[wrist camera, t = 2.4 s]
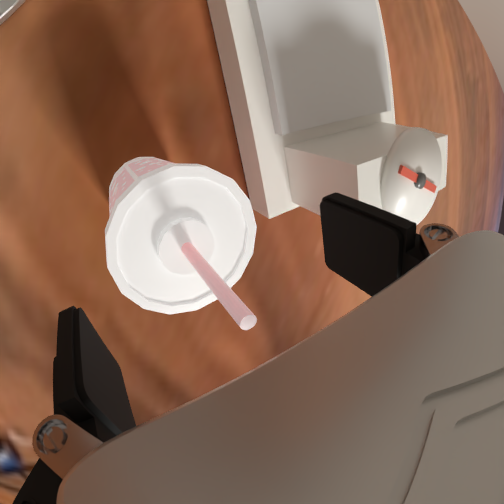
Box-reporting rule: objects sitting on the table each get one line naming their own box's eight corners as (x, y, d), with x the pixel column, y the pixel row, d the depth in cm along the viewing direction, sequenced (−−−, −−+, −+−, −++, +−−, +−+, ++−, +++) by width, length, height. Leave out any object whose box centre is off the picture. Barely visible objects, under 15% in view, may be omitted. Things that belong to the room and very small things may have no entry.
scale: (200, -29, 14) (284, -98, 6) (351, -20, 18) (444, -36, 11) (253, 216, 23) (343, 274, 16) (376, 167, 28) (463, 197, 20)
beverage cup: (131, 255, 20) (210, 428, 9) (78, 182, 16) (66, 319, 5) (204, 202, 21) (355, 315, 10) (161, 125, 18) (306, 150, 7)
